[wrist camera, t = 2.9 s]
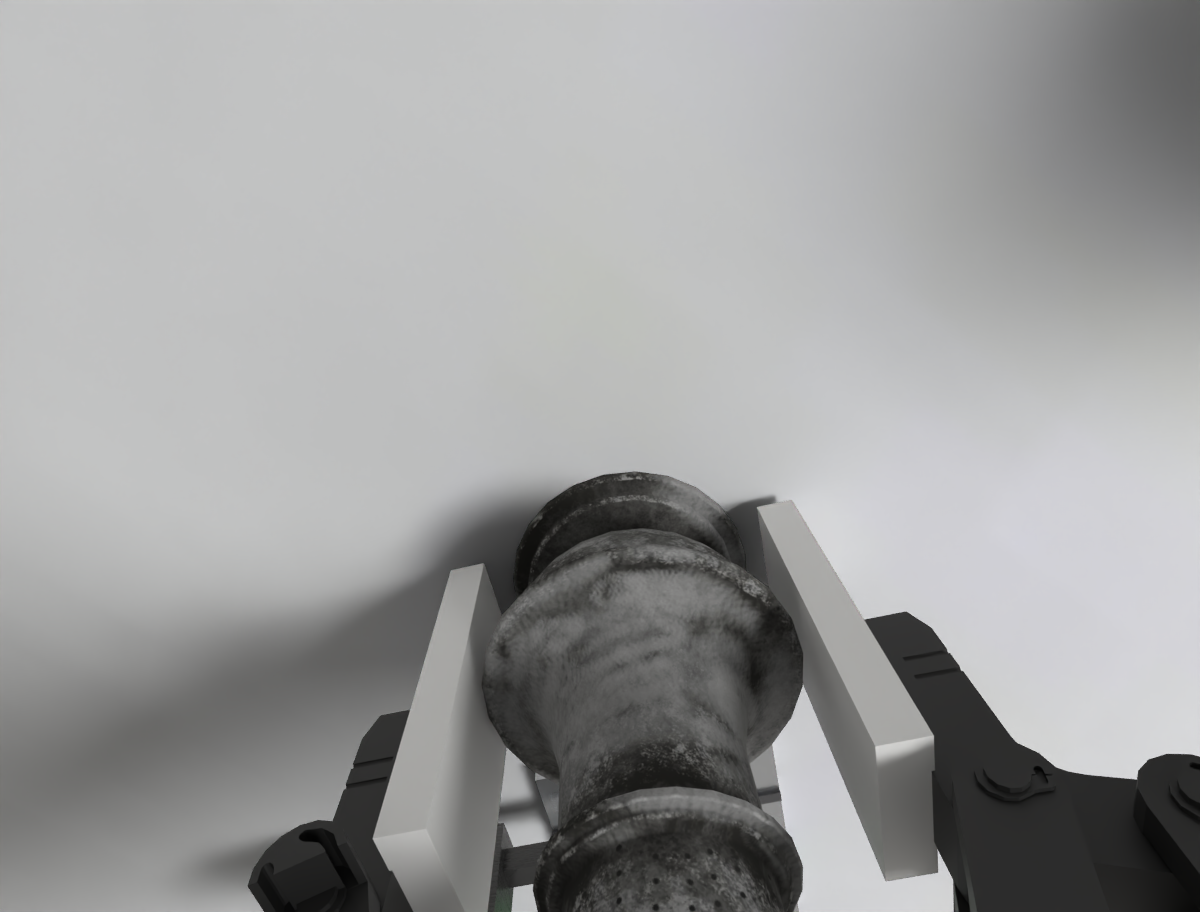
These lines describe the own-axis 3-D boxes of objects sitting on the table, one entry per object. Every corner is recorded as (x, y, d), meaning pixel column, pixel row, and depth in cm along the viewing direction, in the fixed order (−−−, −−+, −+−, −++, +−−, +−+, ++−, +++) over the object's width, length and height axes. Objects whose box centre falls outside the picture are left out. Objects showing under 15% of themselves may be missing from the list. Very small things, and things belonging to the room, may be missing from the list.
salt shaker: (640, 404, 14) (845, 1241, 3) (809, 578, 16) (1290, 1477, 5) (446, 574, 16) (160, 1529, 5) (621, 715, 18) (694, 1636, 7)
